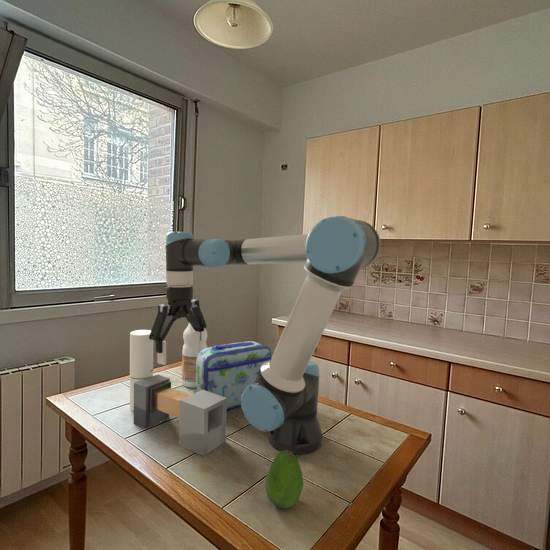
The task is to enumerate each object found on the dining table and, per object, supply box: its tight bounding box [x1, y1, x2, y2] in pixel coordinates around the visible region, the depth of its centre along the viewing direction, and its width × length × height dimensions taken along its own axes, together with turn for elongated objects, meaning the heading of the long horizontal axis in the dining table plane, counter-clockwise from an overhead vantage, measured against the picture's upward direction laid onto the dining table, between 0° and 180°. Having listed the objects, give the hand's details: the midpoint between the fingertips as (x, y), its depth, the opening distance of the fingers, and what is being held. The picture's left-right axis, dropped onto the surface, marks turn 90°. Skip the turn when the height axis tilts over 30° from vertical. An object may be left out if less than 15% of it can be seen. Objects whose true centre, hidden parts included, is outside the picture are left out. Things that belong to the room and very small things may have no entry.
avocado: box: [264, 450, 304, 509], centre depth 79 cm, size 8×8×12 cm
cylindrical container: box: [129, 329, 154, 412], centre depth 121 cm, size 7×7×25 cm
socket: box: [133, 374, 171, 430], centre depth 113 cm, size 6×9×13 cm, turn 147°
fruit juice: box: [181, 322, 208, 389], centre depth 143 cm, size 9×9×28 cm
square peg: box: [149, 380, 191, 419], centre depth 108 cm, size 21×7×7 cm, turn 57°
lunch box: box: [195, 340, 272, 410], centre depth 127 cm, size 26×11×21 cm, turn 123°
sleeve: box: [178, 390, 228, 457], centre depth 101 cm, size 9×9×13 cm
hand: (179, 357), depth 109 cm, fingers open, 13 cm apart
